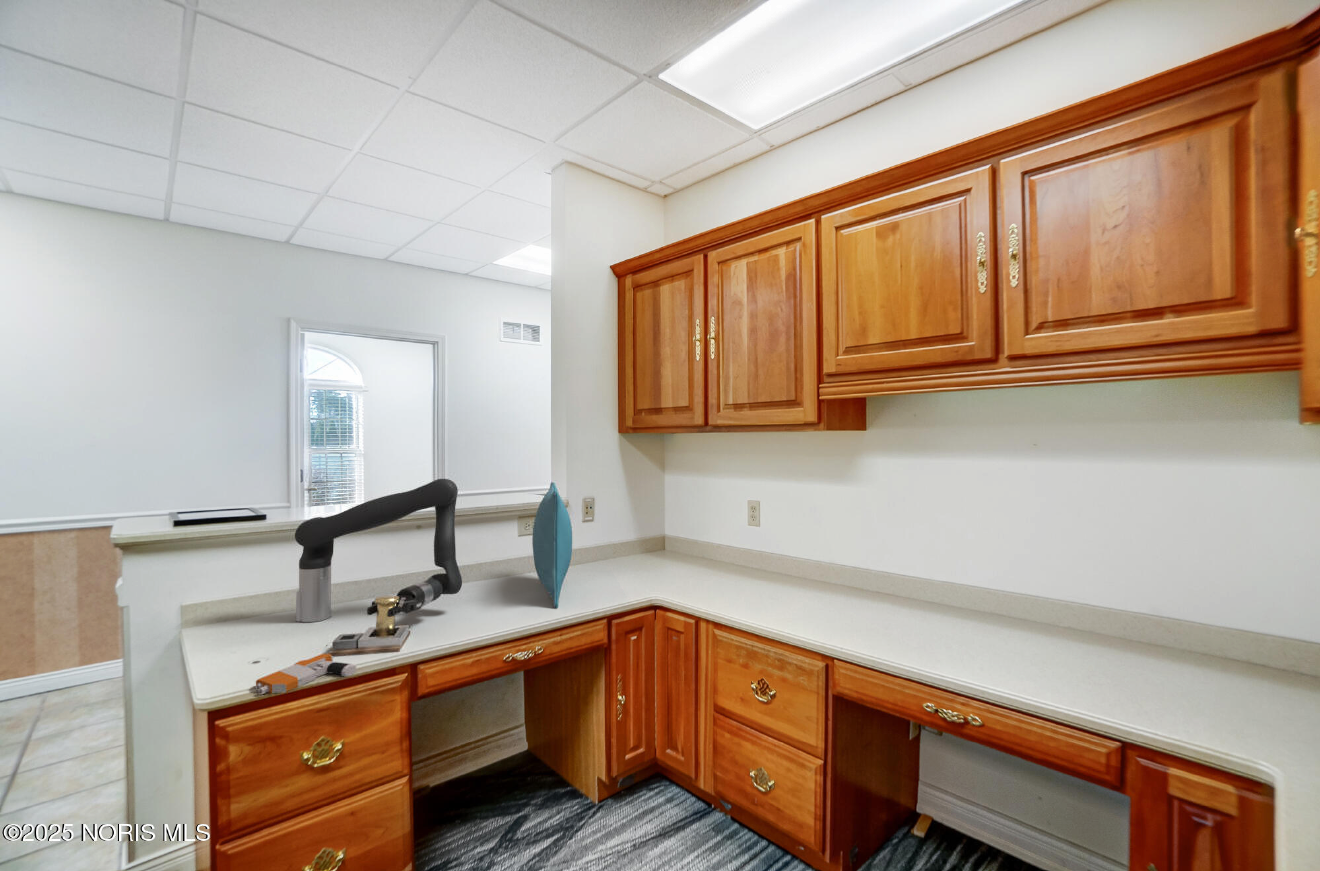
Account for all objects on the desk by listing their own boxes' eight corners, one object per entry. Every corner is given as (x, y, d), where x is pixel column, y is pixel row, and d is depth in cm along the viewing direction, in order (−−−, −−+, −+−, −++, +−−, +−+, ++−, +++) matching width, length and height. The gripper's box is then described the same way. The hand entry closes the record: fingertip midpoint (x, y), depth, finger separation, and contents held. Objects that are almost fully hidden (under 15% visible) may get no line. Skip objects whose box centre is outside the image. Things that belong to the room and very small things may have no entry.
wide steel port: (358, 649, 162) (358, 640, 162) (369, 635, 173) (369, 627, 173) (400, 646, 164) (400, 637, 164) (408, 633, 175) (408, 624, 175)
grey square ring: (332, 650, 160) (332, 641, 160) (339, 643, 166) (339, 634, 166) (356, 649, 162) (356, 640, 162) (362, 641, 168) (362, 633, 168)
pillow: (532, 580, 244) (533, 481, 244) (568, 578, 247) (569, 481, 247) (531, 610, 202) (531, 491, 202) (575, 607, 205) (575, 490, 205)
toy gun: (358, 660, 149) (320, 649, 155) (284, 692, 132) (244, 678, 138) (358, 673, 149) (320, 662, 155) (284, 706, 132) (244, 692, 138)
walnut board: (328, 656, 159) (328, 652, 159) (346, 637, 174) (346, 634, 174) (399, 651, 163) (399, 648, 163) (410, 633, 177) (410, 630, 177)
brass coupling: (369, 643, 165) (372, 600, 166) (375, 637, 171) (378, 596, 172) (393, 642, 166) (396, 599, 167) (398, 636, 172) (401, 595, 173)
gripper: (395, 583, 184) (357, 597, 168) (435, 586, 181) (400, 601, 165) (395, 607, 184) (357, 623, 168) (435, 610, 181) (400, 627, 164)
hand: (378, 612), depth 166 cm, fingers open, 6 cm apart
